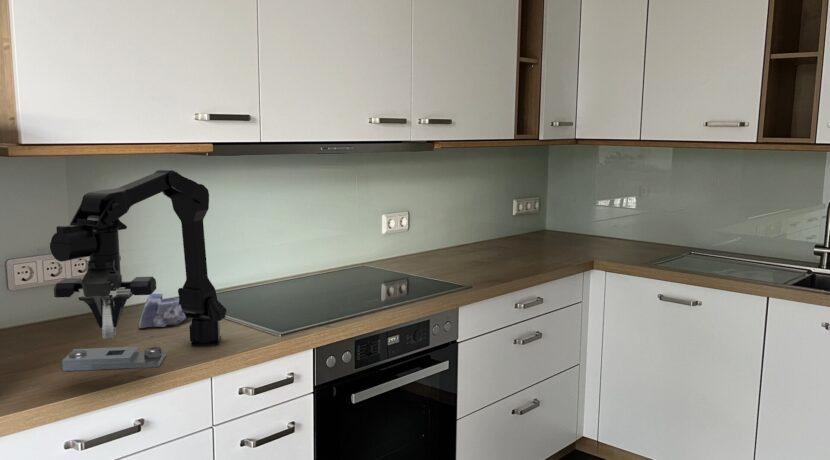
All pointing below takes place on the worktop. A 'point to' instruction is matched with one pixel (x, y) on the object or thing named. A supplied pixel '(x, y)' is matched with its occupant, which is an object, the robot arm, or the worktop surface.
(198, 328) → the robot arm
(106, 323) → the pin
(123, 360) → the grey bolted bracket plate
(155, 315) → the mineral
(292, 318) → the worktop surface
